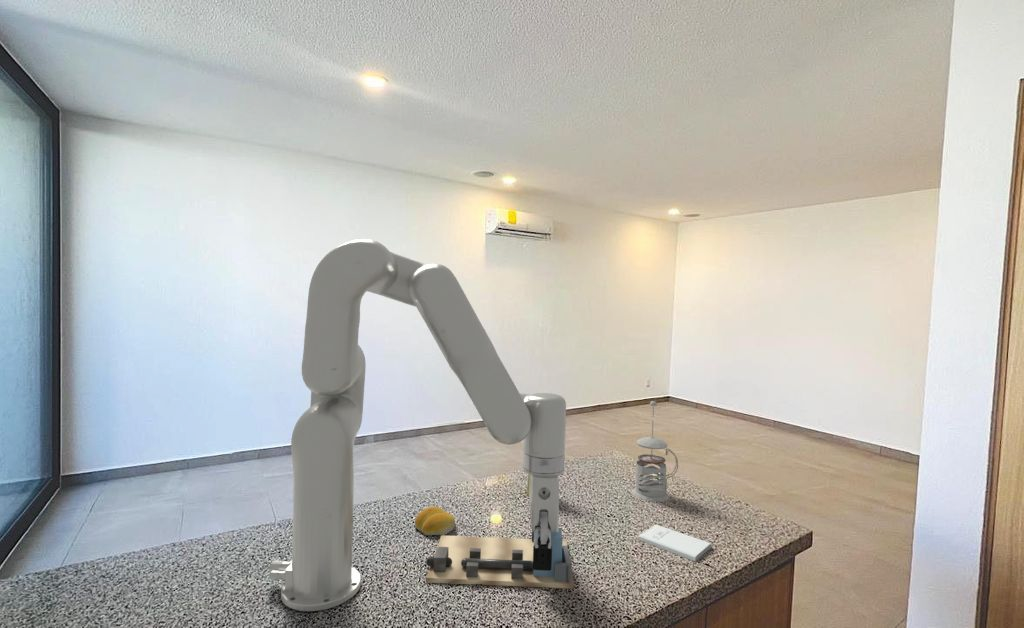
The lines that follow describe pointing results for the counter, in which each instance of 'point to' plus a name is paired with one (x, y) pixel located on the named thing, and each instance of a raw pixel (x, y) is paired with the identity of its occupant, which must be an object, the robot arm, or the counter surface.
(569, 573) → the end holder
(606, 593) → the counter surface
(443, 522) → the bread roll
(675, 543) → the external hard drive
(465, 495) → the counter surface
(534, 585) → the board
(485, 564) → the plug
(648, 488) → the french press
